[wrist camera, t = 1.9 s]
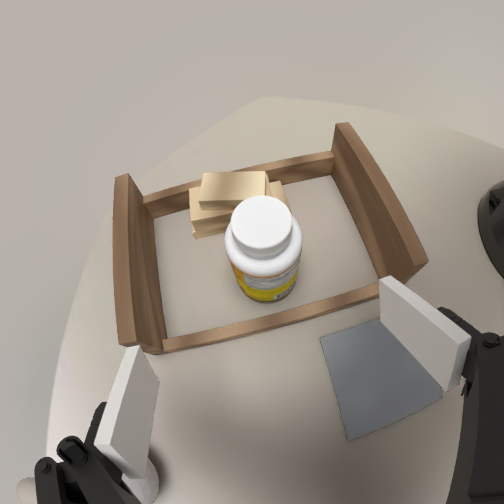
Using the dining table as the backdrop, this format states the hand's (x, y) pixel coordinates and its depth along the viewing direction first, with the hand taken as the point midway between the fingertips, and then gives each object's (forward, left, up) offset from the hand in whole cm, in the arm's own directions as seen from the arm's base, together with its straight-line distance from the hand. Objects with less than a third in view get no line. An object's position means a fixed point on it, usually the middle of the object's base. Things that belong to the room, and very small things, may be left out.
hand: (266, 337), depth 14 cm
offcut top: (-1, -15, -8) cm, 17 cm away
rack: (-2, -10, -11) cm, 15 cm away
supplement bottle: (-2, -7, -11) cm, 13 cm away
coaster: (-10, +5, -11) cm, 15 cm away
